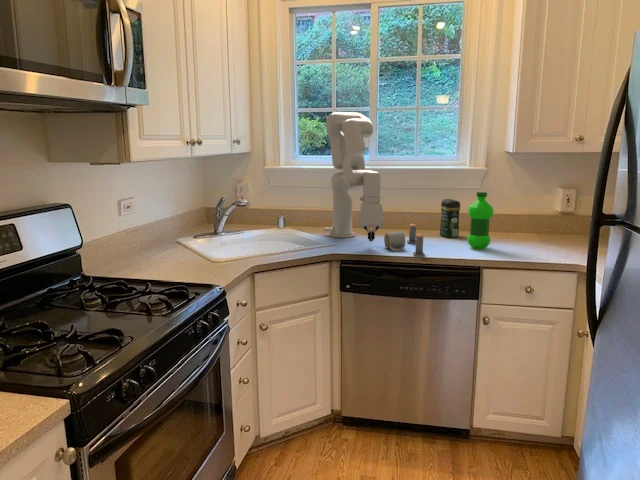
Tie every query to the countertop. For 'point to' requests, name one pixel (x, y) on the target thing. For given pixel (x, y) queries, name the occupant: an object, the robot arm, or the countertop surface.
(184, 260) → the countertop surface
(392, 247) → the ceramic mug
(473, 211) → the plastic bottle
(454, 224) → the coffee jar
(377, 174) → the robot arm
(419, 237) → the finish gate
